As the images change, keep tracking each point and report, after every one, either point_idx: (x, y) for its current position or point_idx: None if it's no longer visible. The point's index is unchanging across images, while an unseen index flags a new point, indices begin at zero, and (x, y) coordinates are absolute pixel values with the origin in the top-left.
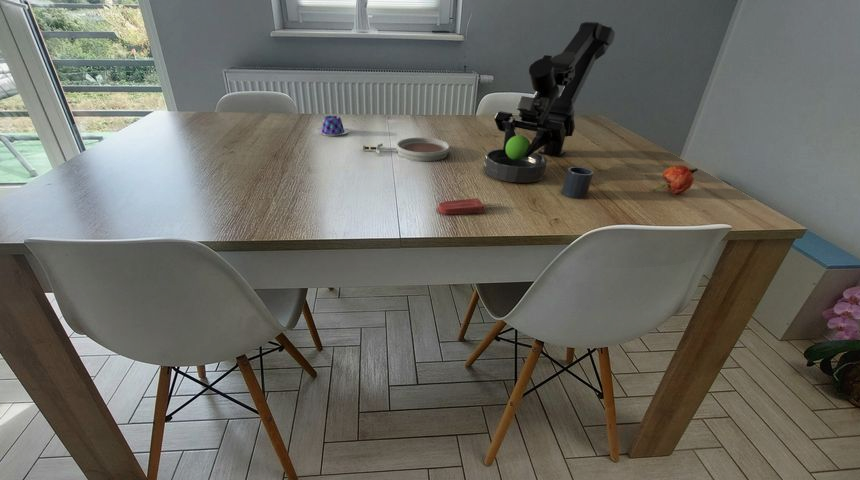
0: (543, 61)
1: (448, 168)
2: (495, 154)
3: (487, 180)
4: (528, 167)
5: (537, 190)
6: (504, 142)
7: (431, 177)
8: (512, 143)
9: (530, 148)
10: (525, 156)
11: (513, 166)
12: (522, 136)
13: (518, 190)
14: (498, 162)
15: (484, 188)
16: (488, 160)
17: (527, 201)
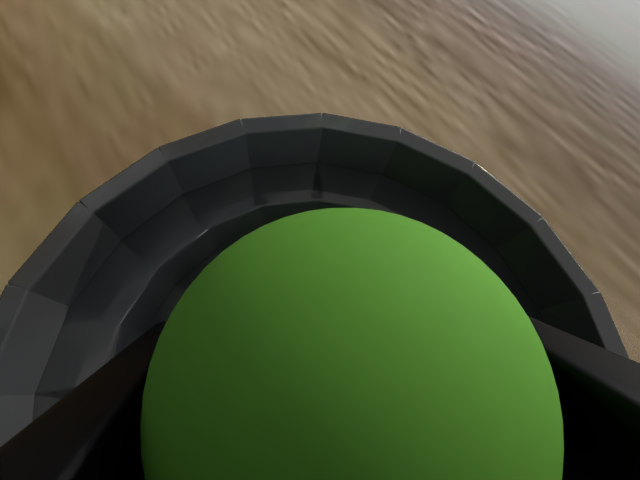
0: None
1: (612, 157)
2: None
3: None
4: (77, 207)
5: (20, 226)
6: (566, 336)
7: (540, 19)
8: (371, 211)
9: (98, 376)
10: None
11: (203, 142)
12: (323, 395)
13: (127, 147)
14: None
15: (287, 60)
16: (445, 154)
17: (24, 58)
